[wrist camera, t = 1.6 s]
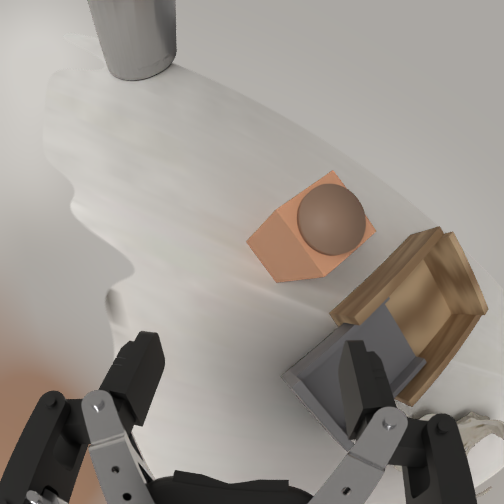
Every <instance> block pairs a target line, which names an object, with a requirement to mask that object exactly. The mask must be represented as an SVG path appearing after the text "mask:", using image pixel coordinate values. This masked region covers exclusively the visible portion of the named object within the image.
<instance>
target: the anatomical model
mask: <svg viewBox="0 0 504 504" xmlns="http://www.w3.org/2000/svg"><path fill="white" fill-rule="evenodd" d="M434 415H436V414H427V415H425V416H423V417H422V418H420V419H418V420H426V421H429V419H430V418H431V417H432V416H434ZM456 423H457V425H458V429H459V432H460V435H461V439H462V442H463V445H464V449H466V448H467V447H468V449H467V450H466V451H465V453H466V456H467V454H468V452H469V451H470V449H471V448H472V447H474V446H475V444H476V443H478V442H479V441H480V440H481V439H483V438H484V437H486V436H487V435H489V434H491V433H493V434H496V435H497V436H498V437H501V438H503V440H504V422H502V421H499V420H490V419H489V417H487V416H480V415H476V414H475V413H474V412H470V413H469V414H468V415H467V416H465V417H464V418H462V419H460V420H458V421H456ZM394 468H395V469H397V470H398V471H402V466H398V465H394ZM402 472H403V471H402ZM491 488H492V487H489V488H488V489H486V490H485V491H483V492H481V493H479V494H477V495H476V498H477V497H480V496H482V495H484V494H485V493H487V492H488V491H490V489H491Z"/></svg>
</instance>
